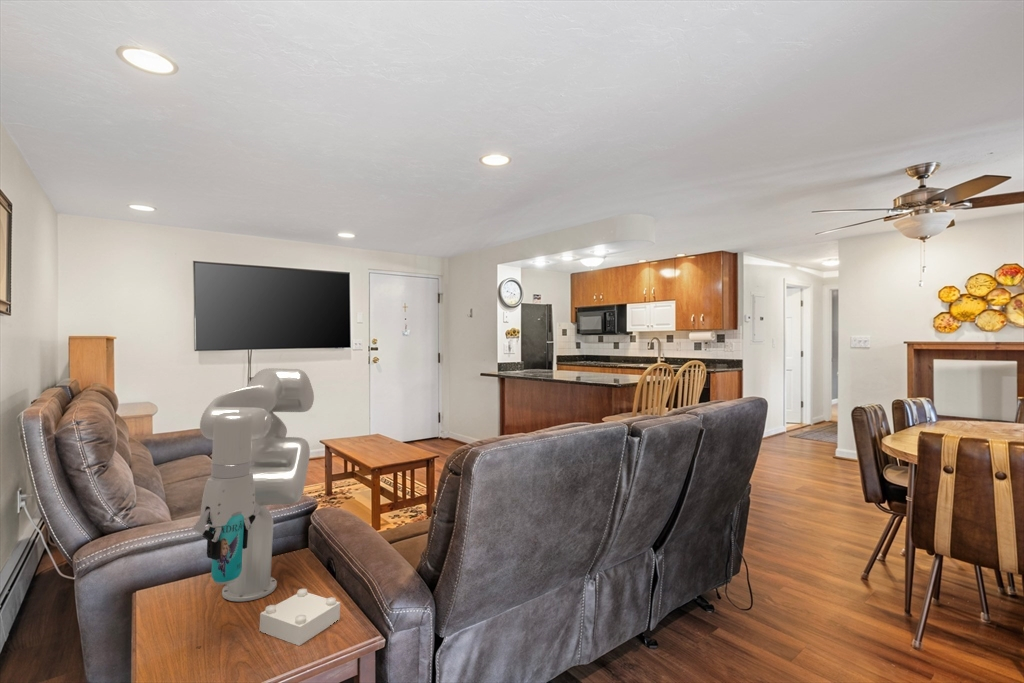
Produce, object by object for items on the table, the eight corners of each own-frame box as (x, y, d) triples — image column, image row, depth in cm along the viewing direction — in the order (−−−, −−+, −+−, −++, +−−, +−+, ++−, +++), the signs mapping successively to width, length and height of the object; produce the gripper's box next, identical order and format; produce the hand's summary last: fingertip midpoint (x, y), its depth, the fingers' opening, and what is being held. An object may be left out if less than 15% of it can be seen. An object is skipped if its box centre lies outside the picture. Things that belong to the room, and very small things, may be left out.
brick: (259, 631, 113) (260, 608, 113) (301, 607, 124) (302, 586, 124) (299, 645, 108) (300, 622, 108) (339, 619, 119) (340, 598, 119)
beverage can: (209, 588, 106) (212, 516, 106) (213, 575, 111) (216, 507, 111) (240, 583, 108) (243, 514, 108) (242, 572, 114) (245, 505, 114)
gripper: (253, 459, 119) (250, 536, 119) (180, 476, 103) (176, 564, 103) (276, 464, 116) (273, 542, 116) (204, 481, 100) (200, 572, 100)
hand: (227, 551), depth 110 cm, fingers closed on beverage can, 5 cm apart
